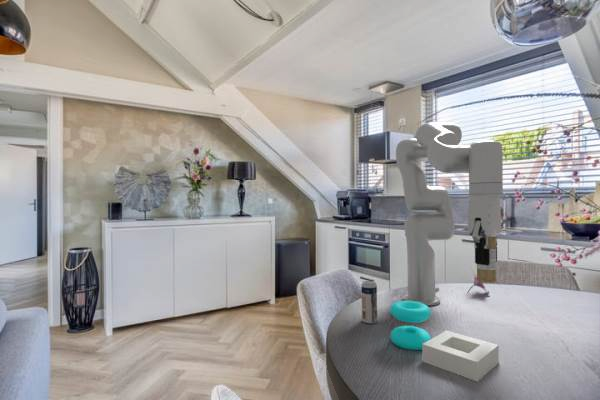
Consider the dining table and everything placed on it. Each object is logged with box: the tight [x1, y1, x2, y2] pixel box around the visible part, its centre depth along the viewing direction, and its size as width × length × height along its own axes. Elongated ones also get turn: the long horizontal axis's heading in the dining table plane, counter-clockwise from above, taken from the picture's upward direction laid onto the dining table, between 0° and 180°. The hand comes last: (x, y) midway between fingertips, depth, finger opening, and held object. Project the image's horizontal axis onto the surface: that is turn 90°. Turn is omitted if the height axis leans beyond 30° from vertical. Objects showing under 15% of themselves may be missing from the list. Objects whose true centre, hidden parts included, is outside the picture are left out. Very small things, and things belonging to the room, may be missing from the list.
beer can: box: [360, 280, 378, 325], centre depth 104 cm, size 5×5×12 cm
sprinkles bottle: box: [476, 230, 497, 284], centre depth 86 cm, size 5×5×14 cm
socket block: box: [421, 330, 500, 382], centre depth 78 cm, size 12×12×4 cm
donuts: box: [389, 300, 432, 351], centre depth 89 cm, size 10×10×10 cm
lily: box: [467, 267, 490, 296], centre depth 134 cm, size 12×12×10 cm
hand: (486, 262), depth 86 cm, fingers closed on sprinkles bottle, 4 cm apart
